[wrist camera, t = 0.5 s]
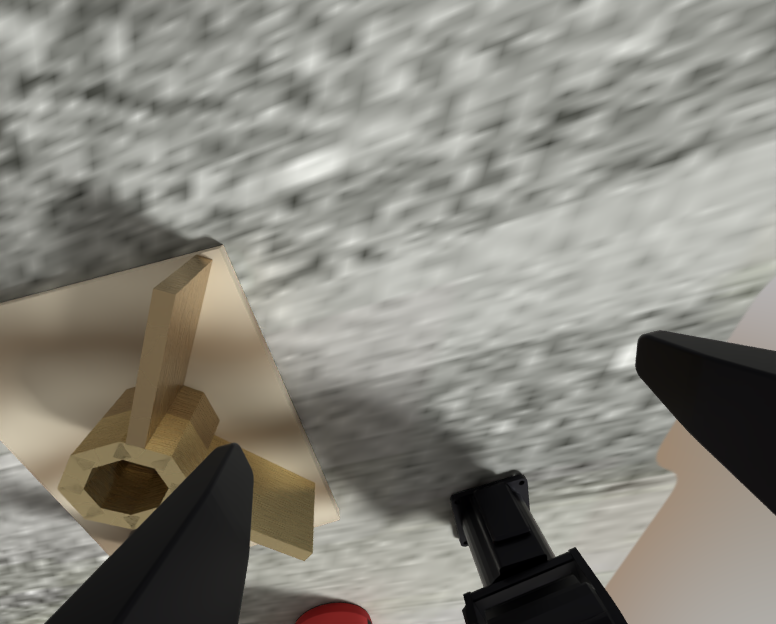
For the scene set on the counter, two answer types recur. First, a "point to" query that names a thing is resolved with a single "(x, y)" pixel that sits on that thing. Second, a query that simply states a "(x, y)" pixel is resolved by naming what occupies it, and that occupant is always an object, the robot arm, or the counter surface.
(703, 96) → the counter surface
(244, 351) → the mounting board
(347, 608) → the canned food
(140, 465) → the spoked octagonal hub
